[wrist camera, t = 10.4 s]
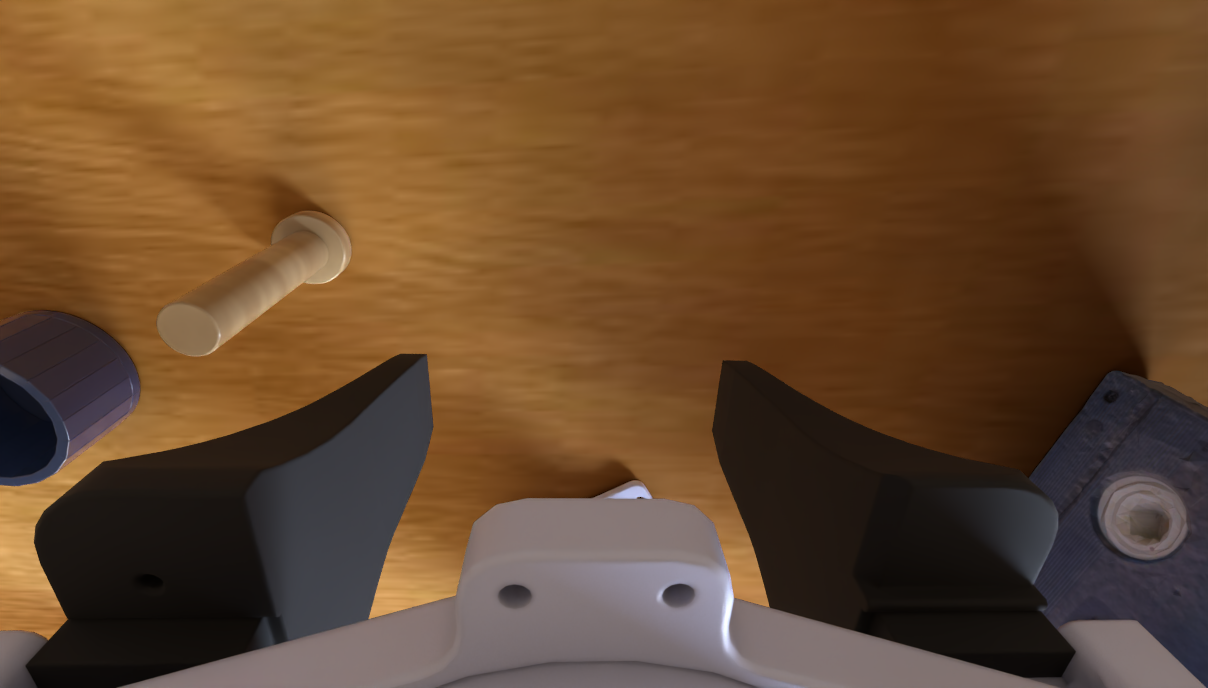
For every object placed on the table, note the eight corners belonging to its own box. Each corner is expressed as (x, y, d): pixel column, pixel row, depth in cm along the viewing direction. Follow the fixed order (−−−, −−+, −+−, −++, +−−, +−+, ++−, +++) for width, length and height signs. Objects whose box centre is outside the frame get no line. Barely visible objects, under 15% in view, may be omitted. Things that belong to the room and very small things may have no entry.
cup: (170, 394, 24) (102, 448, 20) (73, 447, 25) (-8, 507, 21) (62, 286, 22) (-34, 325, 18) (-40, 347, 23) (-150, 396, 19)
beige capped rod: (366, 258, 22) (265, 349, 15) (311, 289, 22) (186, 392, 15) (322, 197, 21) (189, 262, 14) (264, 230, 21) (106, 311, 14)
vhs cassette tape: (941, 647, 33) (1079, 861, 24) (897, 638, 33) (1022, 853, 24) (1164, 381, 26) (1477, 542, 17) (1113, 363, 26) (1408, 521, 17)
